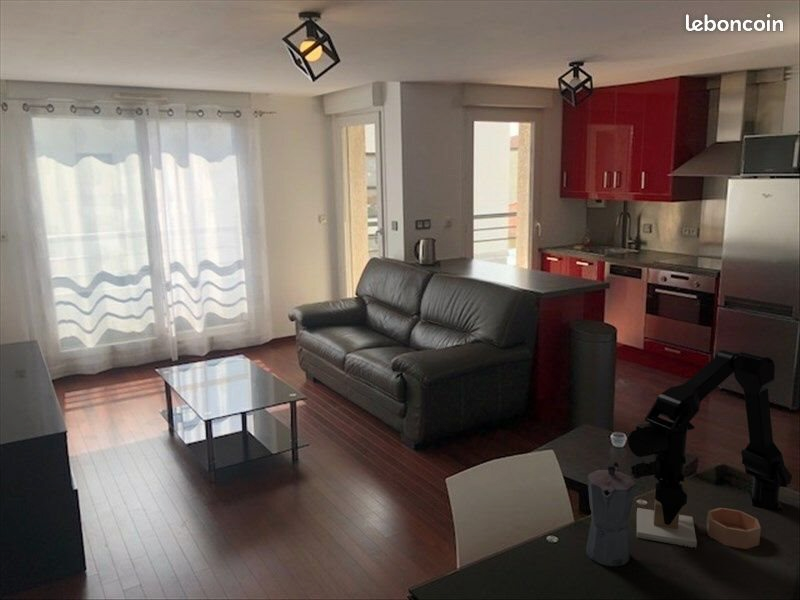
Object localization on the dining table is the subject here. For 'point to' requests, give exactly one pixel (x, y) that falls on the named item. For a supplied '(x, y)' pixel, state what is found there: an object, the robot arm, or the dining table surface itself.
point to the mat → (665, 541)
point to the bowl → (733, 528)
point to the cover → (665, 526)
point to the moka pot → (609, 516)
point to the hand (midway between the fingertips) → (666, 514)
